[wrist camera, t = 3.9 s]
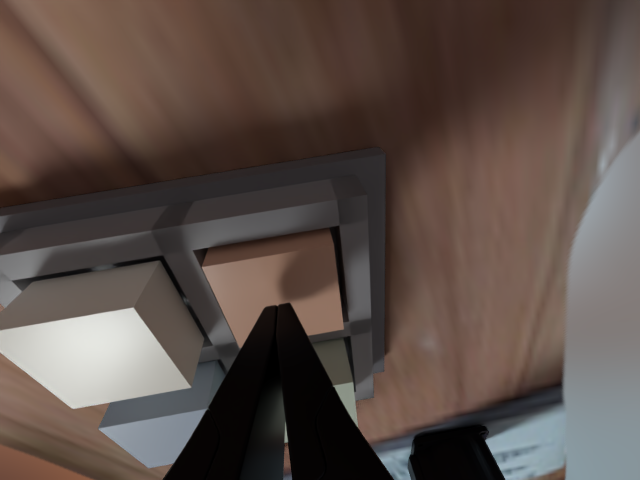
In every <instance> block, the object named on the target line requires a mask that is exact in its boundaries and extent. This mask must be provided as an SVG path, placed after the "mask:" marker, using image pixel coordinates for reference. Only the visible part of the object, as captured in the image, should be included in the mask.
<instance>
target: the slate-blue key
mask: <svg viewBox="0 0 640 480" xmlns="http://www.w3.org/2000/svg"><path fill="white" fill-rule="evenodd" d="M225 376H226V375H225V374H224V372H223V370H222V368H221V367H220V365H219V363H218V361H217V360H214V361H208V362H203V363H198V364H197V368H196V372H195V376H194V380H193V384H192V388H187V389H181V390H176V391H170V392H165V393H159V394H153V395H148V396H142V397H137V398H131V399H126V400H120V401H115V402H110V405H109V407H108V409H107V411H106V413H105V415H104V417H103V419H102V421H101V423H100V425H99V428H98V429H99V430H100V431H102V432H103V433H104V434H105V435H107V436H108V437H109V438H111V439H112V440H113V441H114V442H116V443H117V444H118V445H120V446H121V447H122V448H123V449H125V450H126V451H127V452H129V453H130V454H131V455H132V456H134V457H135V458H136V459H137V460H139V461H140V462H141V463H143V464H144V465H145V466H146V467H148V468H152V467H158V466H163V465H168V464H173V463H174V462H175V460H176V459H177V457H178V456H179V454H180V453H181V451H182V450H183V448H184V447H185V445H186V443H187V442H188V440H189V438H190V437H191V435H192V433H193V432H194V430H195V428H196V427H197V425H198V423H199V422H200V420H201V418H202V416H203V414H204V413H205V411H206V410H207V409H208V406H209V404H210V402H211V401H212V399H213V397H214V395H215V394H216V392H217V390H218V388H219V386H220V385H221V383H222V381H223V379H224V378H225ZM208 410H209V409H208Z"/></svg>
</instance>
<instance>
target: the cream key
mask: <svg viewBox="0 0 640 480" xmlns="http://www.w3.org/2000/svg"><path fill="white" fill-rule="evenodd" d="M203 341H204V337H203V335H202V333H201V332H200V330H199V328H198V326H197V325H196V323H195V321H194V319H193V318H192V316H191V314H190V312H189V310H188V309H187V307H186V305H185V303H184V302H183V300H182V298H181V296H180V295H179V293H178V291H177V289H176V288H175V286H174V284H173V282H172V281H171V279H170V277H169V275H168V274H167V272H166V270H165V268H164V267H163V265H162V263H161V261H160V260H159V261H153V262H147V263H141V264H135V265H129V266H123V267H118V268H112V269H106V270H100V271H94V272H88V273H82V274H76V275H70V276H64V277H58V278H52V279H46V280H40V281H34V282H32V283H31V284H30V285H29V286H28V287H27V288H26V289H25V290H24V291H23V292H21V293H20V294H19V295H18V296H17V297H16V298H15V299H14V300H13V301H12V302H11V303H10V304H9V305H8V306H7V307H6V308H5V309H4V310H3V311H1V312H0V353H2V354H3V355H4V356H6V357H7V358H8V359H9V360H11V361H12V362H13V363H15V364H16V365H17V366H18V367H20V368H21V369H22V370H24V371H25V372H26V373H27V374H29V375H30V376H31V377H32V378H34V379H35V380H36V381H38V382H39V383H40V384H41V385H43V386H44V387H45V388H47V389H48V390H49V391H50V392H52V393H53V394H54V395H56V396H57V397H58V398H59V399H61V400H62V401H63V402H65V403H66V404H67V405H68V406H70V407H71V408H72V409H76V408H81V407H87V406H92V405H98V404H104V403H109V402H115V401H120V400H126V399H131V398H137V397H142V396H148V395H153V394H159V393H165V392H170V391H176V390H181V389H187V388H192V384H193V380H194V376H195V372H196V368H197V364H198V361H199V357H200V353H201V349H202V345H203Z"/></svg>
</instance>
